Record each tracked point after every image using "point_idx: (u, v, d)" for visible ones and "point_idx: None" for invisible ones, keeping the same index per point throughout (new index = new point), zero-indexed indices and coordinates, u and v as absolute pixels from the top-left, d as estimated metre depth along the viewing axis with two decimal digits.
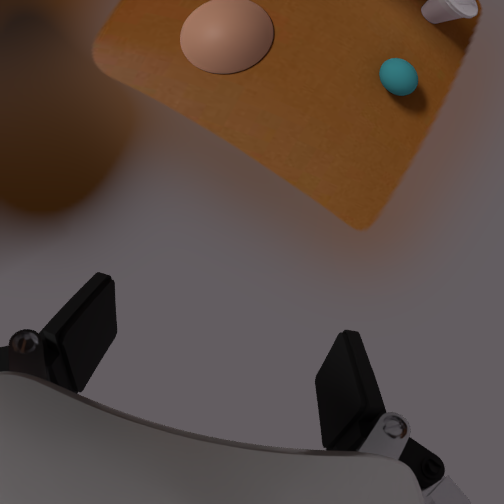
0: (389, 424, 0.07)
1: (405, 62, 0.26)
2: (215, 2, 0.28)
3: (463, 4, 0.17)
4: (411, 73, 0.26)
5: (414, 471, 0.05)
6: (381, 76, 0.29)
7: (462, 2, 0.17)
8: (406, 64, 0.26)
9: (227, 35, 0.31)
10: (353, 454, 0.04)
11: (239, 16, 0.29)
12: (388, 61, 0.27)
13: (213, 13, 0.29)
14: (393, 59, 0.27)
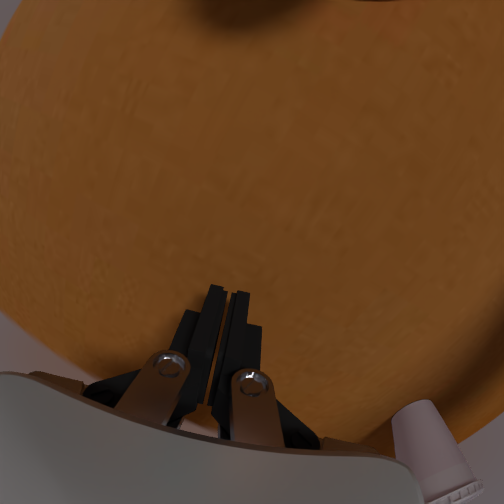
0: (245, 384, 0.07)
1: None
2: None
3: None
4: None
5: None
6: None
7: None
8: None
9: None
10: (353, 454, 0.04)
11: None
12: None
13: None
14: None
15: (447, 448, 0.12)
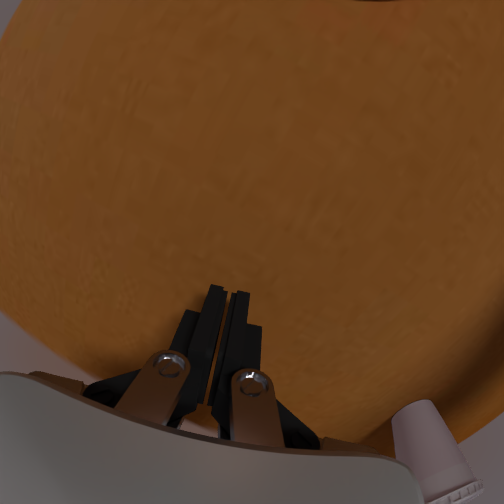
0: (245, 384, 0.07)
1: None
2: None
3: None
4: None
5: None
6: None
7: None
8: None
9: None
10: (353, 454, 0.04)
11: None
12: None
13: None
14: None
15: (447, 448, 0.12)
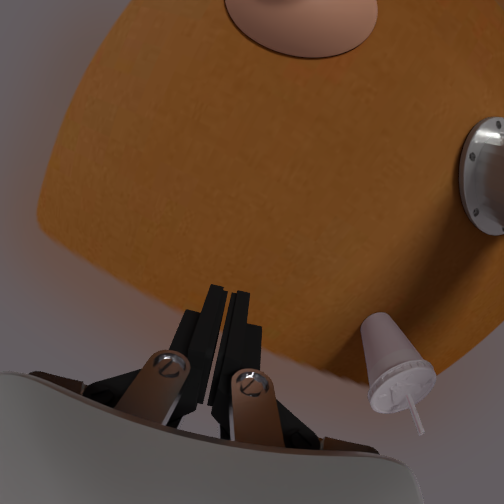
0: (245, 384, 0.07)
1: None
2: None
3: (391, 395, 0.19)
4: None
5: None
6: None
7: (395, 393, 0.20)
8: None
9: None
10: (353, 454, 0.04)
11: (337, 14, 0.16)
12: None
13: None
14: None
15: (399, 339, 0.23)
